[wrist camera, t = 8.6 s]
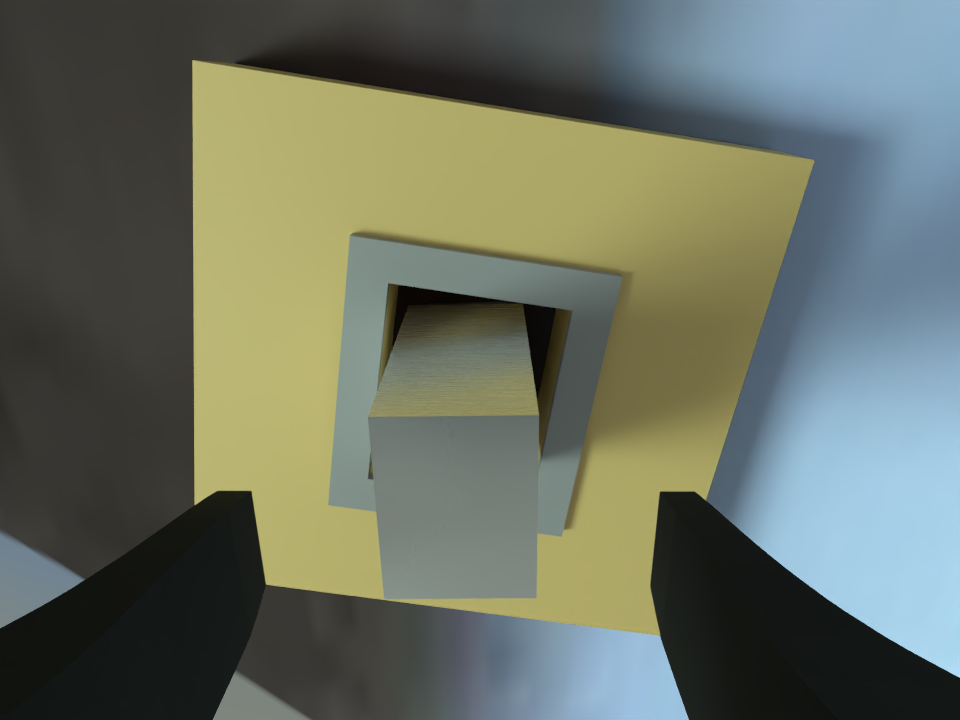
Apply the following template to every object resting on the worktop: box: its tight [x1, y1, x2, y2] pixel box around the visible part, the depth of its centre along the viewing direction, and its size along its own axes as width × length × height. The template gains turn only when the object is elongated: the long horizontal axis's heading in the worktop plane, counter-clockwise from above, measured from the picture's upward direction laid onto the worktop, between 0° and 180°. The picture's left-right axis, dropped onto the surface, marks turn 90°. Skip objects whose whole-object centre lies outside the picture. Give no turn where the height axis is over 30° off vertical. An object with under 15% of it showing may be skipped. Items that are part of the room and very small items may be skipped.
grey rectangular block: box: [368, 302, 539, 599], centre depth 17 cm, size 3×4×8 cm
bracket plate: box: [193, 60, 815, 635], centre depth 19 cm, size 14×14×3 cm
